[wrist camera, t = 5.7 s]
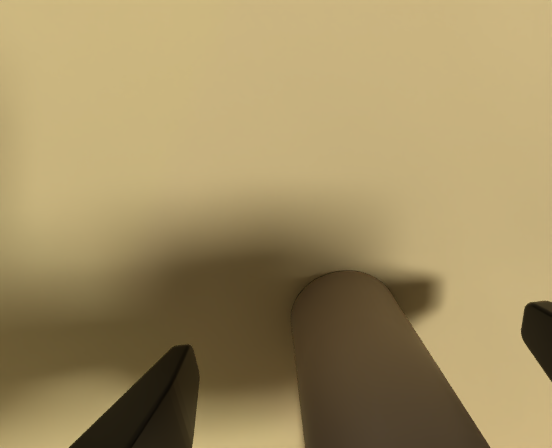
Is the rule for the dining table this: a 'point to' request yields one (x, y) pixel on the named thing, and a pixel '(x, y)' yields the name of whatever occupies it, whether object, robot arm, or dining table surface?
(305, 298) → the tethered block
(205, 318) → the dining table surface
